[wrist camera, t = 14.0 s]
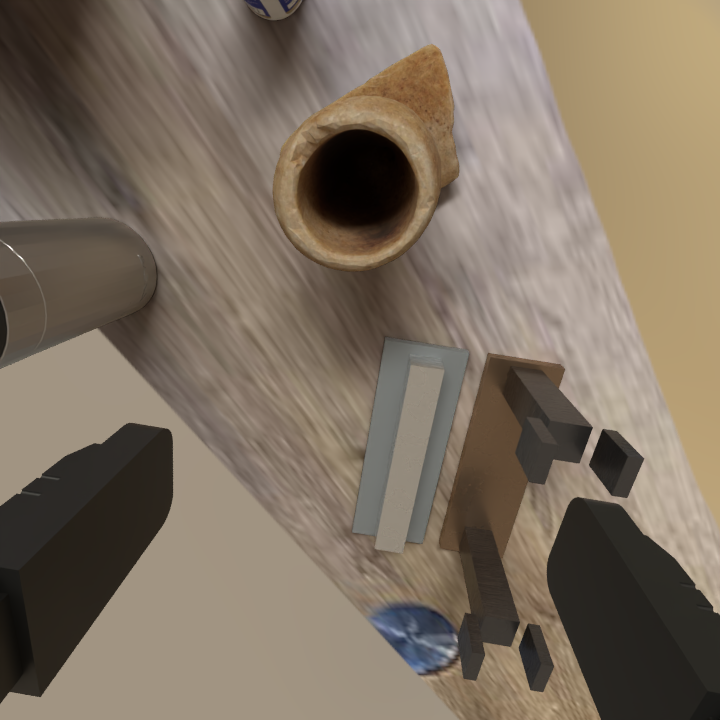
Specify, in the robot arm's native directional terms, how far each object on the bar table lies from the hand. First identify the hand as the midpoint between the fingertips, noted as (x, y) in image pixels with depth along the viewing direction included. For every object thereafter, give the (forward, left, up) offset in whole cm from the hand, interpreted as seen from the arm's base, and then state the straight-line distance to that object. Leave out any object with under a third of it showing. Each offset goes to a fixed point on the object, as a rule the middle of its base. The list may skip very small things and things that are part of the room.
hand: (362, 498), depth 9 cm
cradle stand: (+15, -18, -33) cm, 40 cm away
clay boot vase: (-2, +8, -33) cm, 34 cm away
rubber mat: (+5, -18, -33) cm, 38 cm away
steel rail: (+5, -18, -32) cm, 37 cm away
